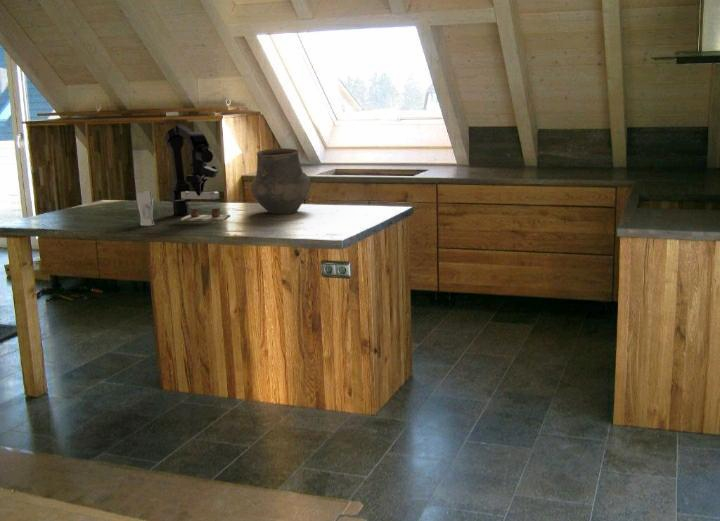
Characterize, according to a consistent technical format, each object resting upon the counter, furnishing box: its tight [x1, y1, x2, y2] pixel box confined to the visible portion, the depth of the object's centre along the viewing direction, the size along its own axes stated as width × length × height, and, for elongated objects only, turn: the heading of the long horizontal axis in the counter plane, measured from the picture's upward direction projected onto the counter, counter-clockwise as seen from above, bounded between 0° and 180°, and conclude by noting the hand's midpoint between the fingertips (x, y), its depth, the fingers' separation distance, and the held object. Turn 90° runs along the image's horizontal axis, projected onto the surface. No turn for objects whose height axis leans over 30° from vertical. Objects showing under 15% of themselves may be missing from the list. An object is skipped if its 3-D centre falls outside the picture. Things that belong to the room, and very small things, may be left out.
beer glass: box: [136, 190, 155, 227], centre depth 373 cm, size 7×7×15 cm
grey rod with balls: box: [180, 191, 220, 200], centre depth 381 cm, size 18×4×3 cm, turn 80°
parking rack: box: [180, 207, 231, 222], centre depth 386 cm, size 20×11×5 cm, turn 81°
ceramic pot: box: [250, 148, 311, 215], centre depth 396 cm, size 28×28×30 cm
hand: (200, 195), depth 381 cm, fingers closed on grey rod with balls, 3 cm apart
